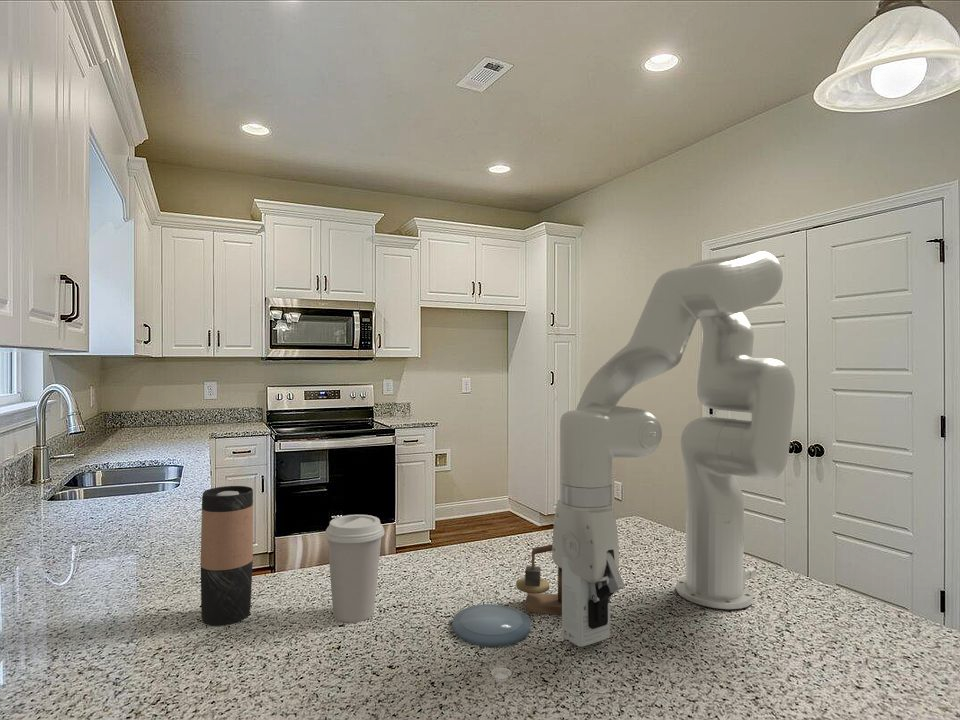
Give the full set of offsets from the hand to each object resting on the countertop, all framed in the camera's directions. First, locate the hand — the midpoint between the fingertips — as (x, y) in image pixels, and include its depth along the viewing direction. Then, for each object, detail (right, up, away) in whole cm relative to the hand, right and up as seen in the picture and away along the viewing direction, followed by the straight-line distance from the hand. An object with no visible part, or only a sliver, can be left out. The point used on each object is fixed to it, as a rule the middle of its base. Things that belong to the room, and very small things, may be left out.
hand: (586, 617), depth 84 cm
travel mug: (-56, -3, +7) cm, 57 cm away
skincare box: (0, -3, 0) cm, 3 cm away
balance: (-2, -4, +12) cm, 12 cm away
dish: (-14, -4, +5) cm, 15 cm away
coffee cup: (-36, -3, +9) cm, 37 cm away
